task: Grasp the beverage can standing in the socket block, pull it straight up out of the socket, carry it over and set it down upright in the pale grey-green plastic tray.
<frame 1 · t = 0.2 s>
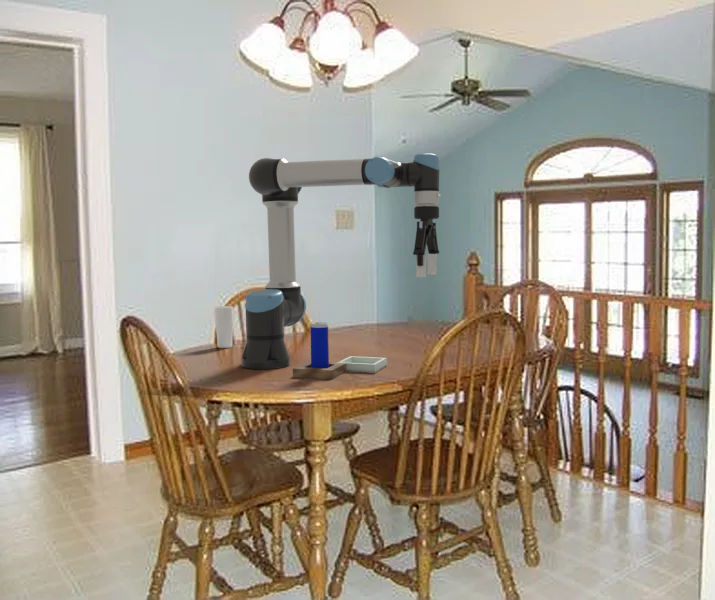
hand: (426, 275, 213), 28 cm above the table, fingers open, 13 cm apart
socket block: (320, 374, 204), on the table
beverage can: (320, 374, 204), resting in socket block
tray: (362, 368, 212), on the table
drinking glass: (224, 347, 256), on the table
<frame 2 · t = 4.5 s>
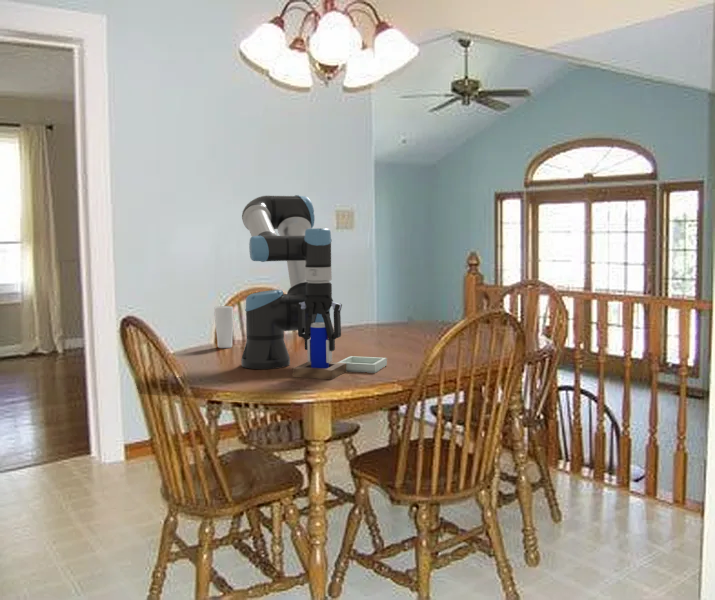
hand: (319, 361, 203), 4 cm above the table, fingers closed on beverage can, 5 cm apart
beverage can: (320, 374, 204), resting in socket block, touching gripper
everything else where it was.
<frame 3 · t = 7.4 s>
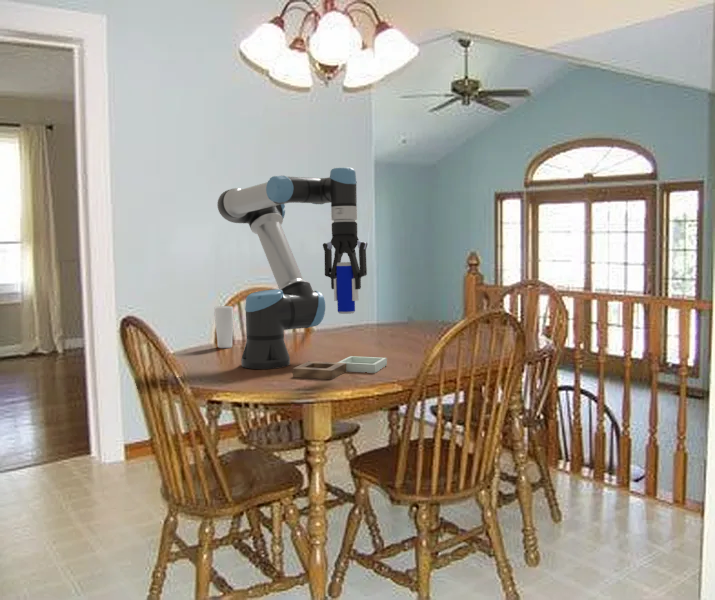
hand: (346, 300, 206), 21 cm above the table, fingers closed on beverage can, 5 cm apart
beverage can: (346, 313, 206), point 17 cm above the table, touching gripper
everything else where it was.
when the fingers open (6 cm above the table, at t = 10.7 s): beverage can drops 2 cm, resting on tray.
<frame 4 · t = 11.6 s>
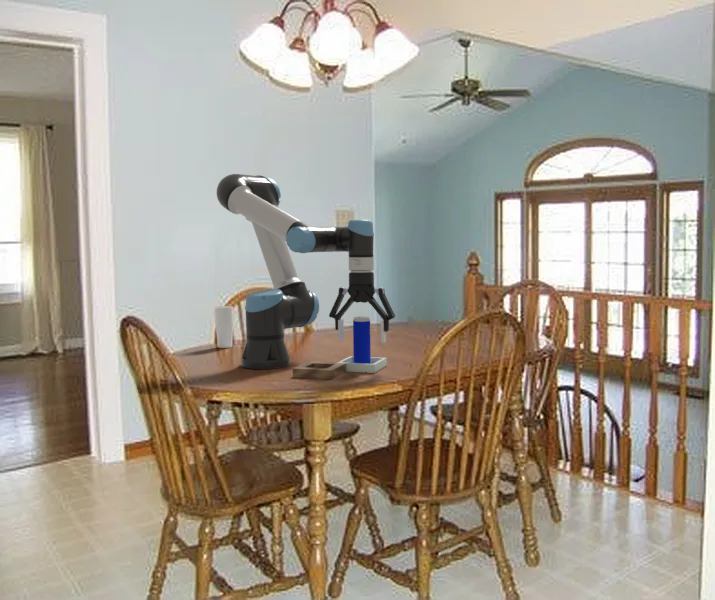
hand: (362, 341, 211), 8 cm above the table, fingers open, 13 cm apart
beverage can: (362, 367, 212), resting on tray
everything else where it was.
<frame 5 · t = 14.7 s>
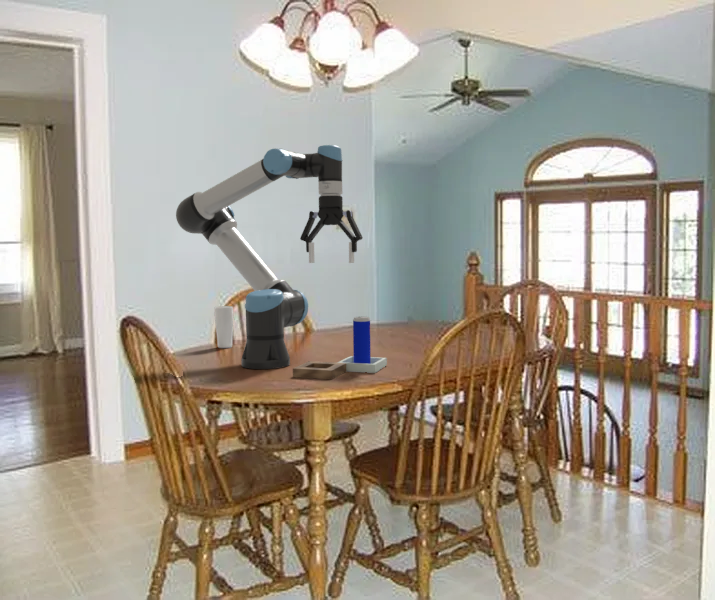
hand: (331, 262, 222), 32 cm above the table, fingers open, 13 cm apart
nothing on the table moved.
at the end: beverage can inside the target area on the tray (0.1 cm from its centre), point 0.4 cm above the tray's base; beverage can tilted 0°; the gripper is holding nothing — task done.
